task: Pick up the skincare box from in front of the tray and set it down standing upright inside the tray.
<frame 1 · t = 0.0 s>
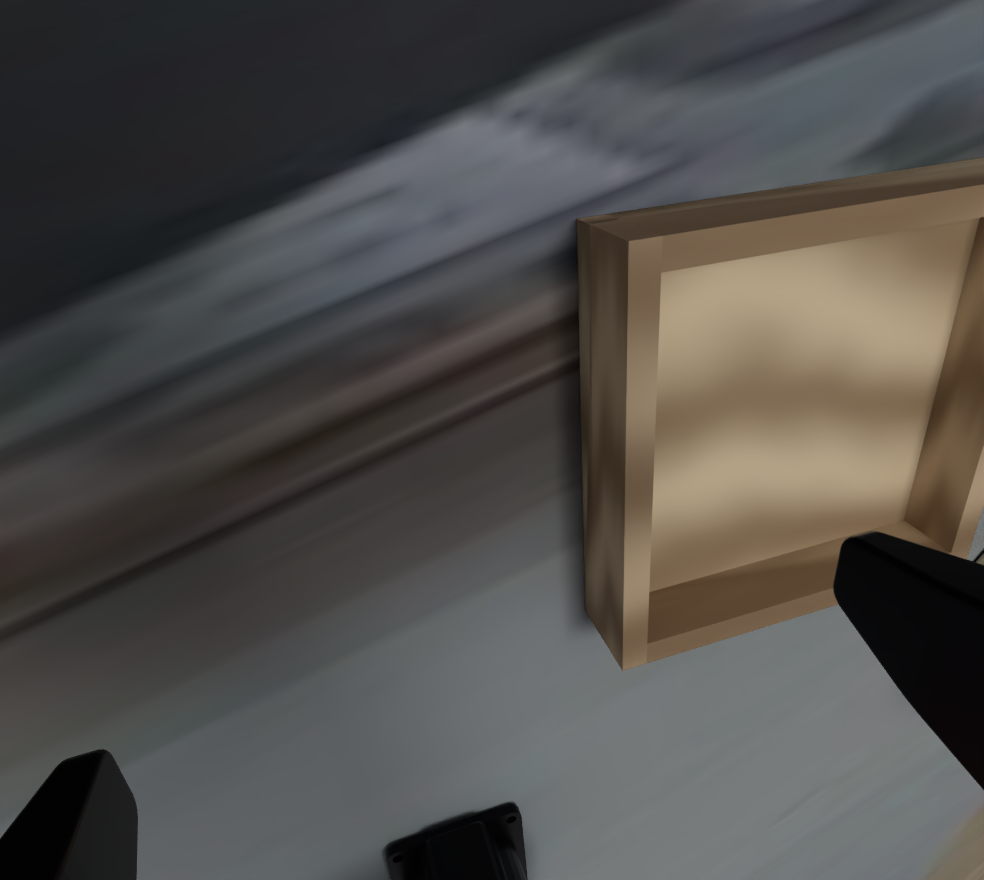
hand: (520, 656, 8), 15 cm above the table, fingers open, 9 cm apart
tray: (771, 401, 27), on the table
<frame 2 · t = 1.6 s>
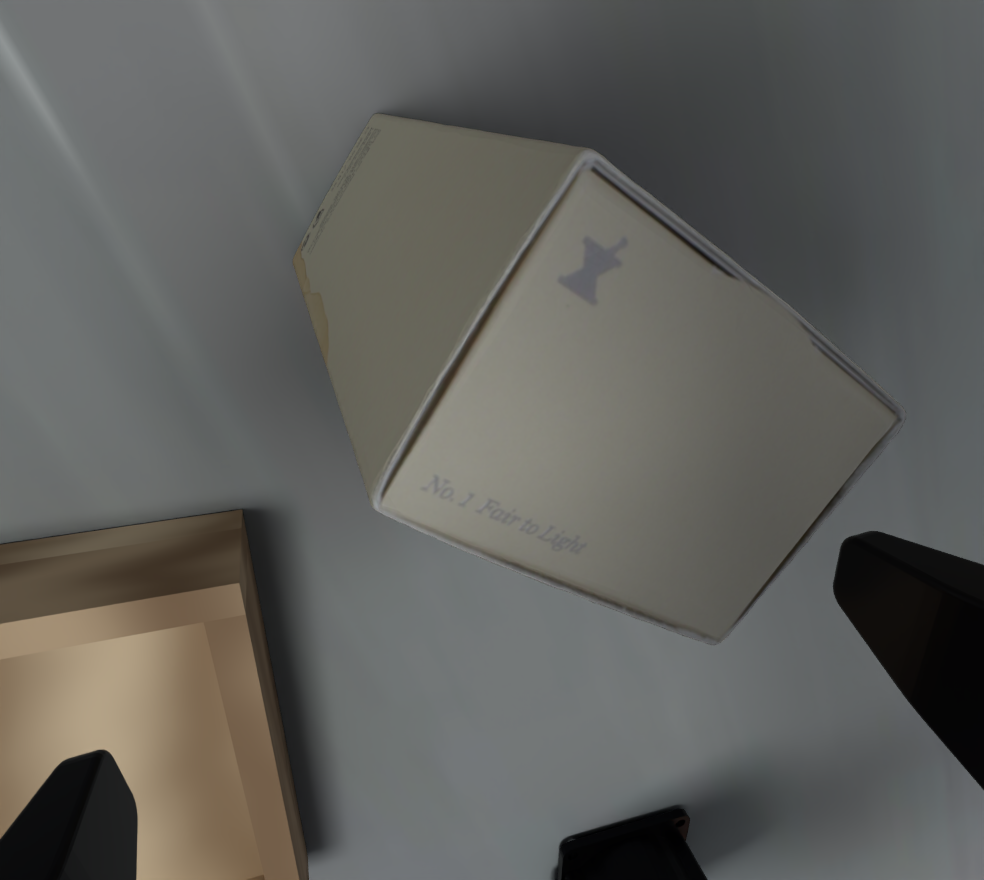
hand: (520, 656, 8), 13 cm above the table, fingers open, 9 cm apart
tray: (13, 766, 22), on the table
skincare box: (434, 250, 19), on the table
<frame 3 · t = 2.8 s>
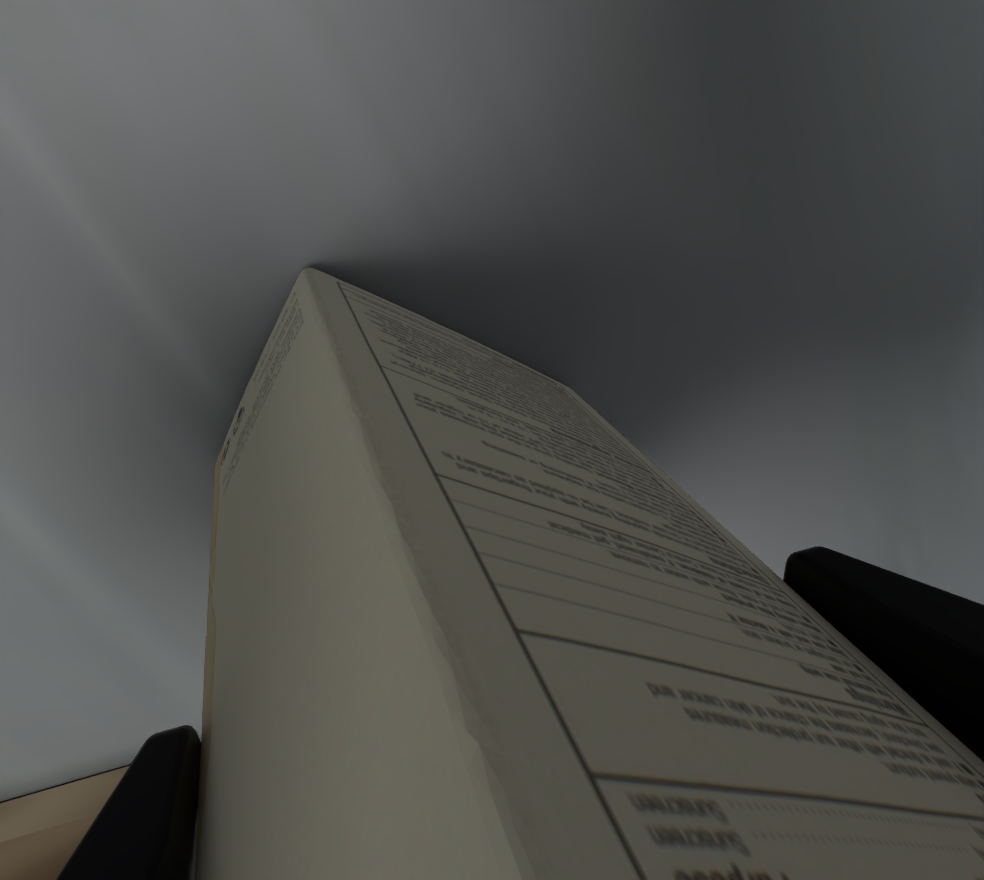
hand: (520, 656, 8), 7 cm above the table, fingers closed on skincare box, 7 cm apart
skincare box: (409, 417, 14), on the table, touching gripper
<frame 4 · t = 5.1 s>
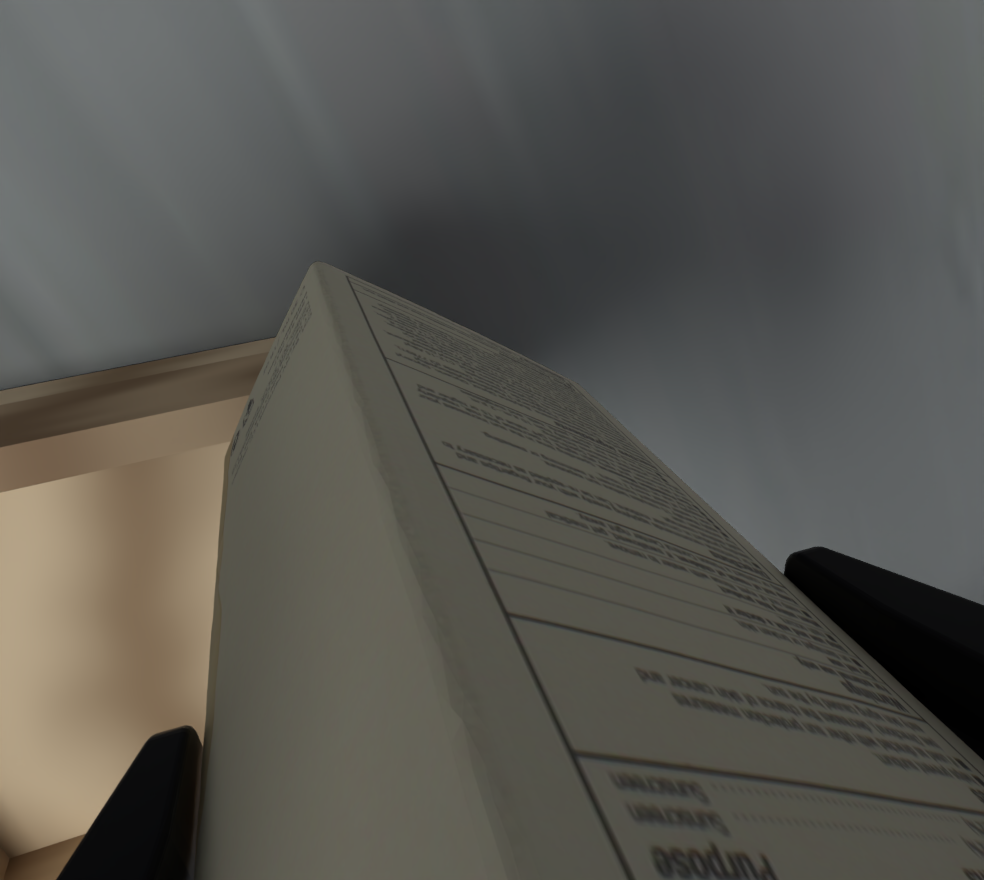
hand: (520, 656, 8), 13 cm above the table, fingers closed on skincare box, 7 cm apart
tray: (169, 615, 21), on the table
skincare box: (417, 411, 14), point 6 cm above the table, touching gripper
when the fingers open (9 cm above the table, at t = 7.2 s): skincare box drops 1 cm, resting on tray.
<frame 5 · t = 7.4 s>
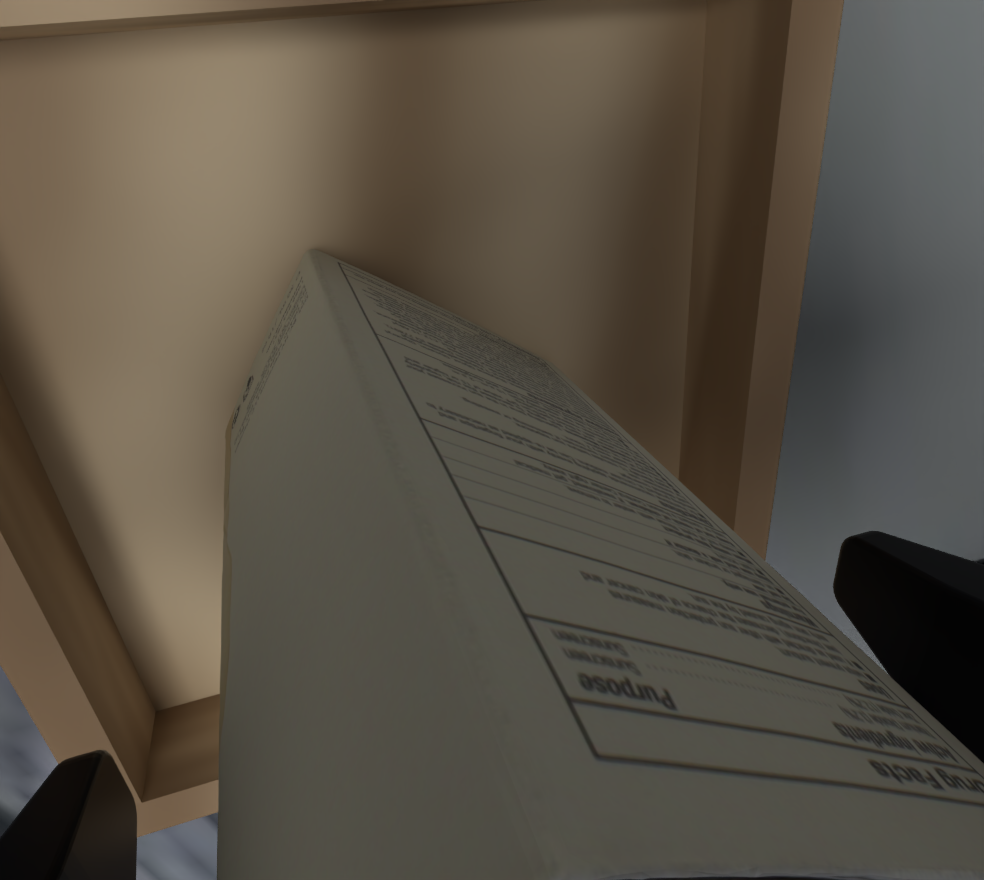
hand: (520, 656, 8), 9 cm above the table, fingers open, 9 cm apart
tray: (390, 377, 16), on the table
skincare box: (404, 389, 15), point 1 cm above the table, touching tray
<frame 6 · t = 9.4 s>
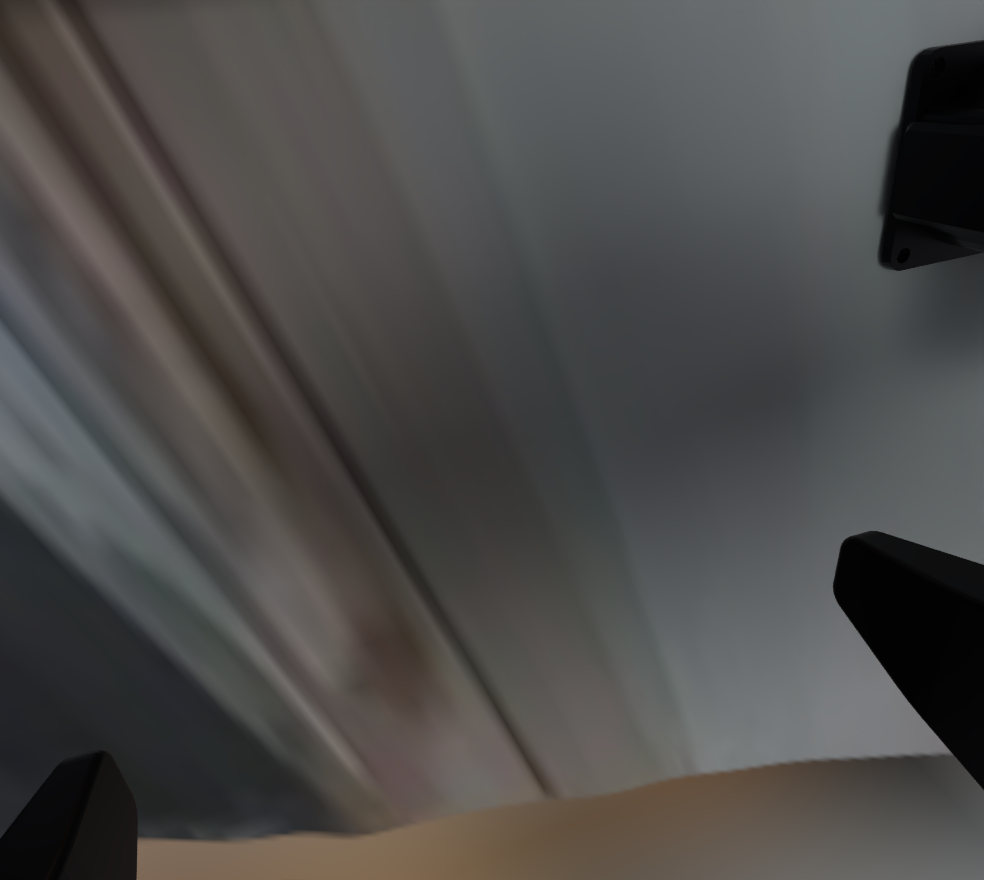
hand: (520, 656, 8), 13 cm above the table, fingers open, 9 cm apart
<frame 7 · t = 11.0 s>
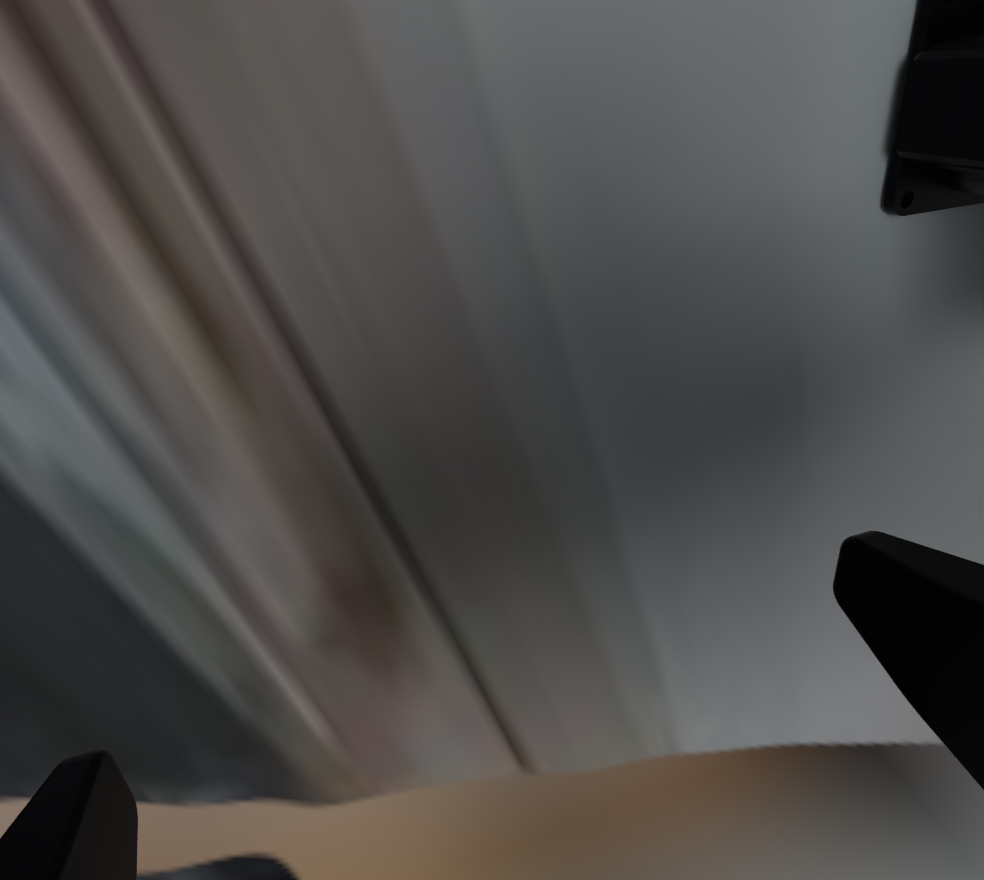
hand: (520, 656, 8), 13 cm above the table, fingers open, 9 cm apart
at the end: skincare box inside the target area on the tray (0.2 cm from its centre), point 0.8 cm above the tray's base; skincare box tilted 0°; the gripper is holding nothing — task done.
